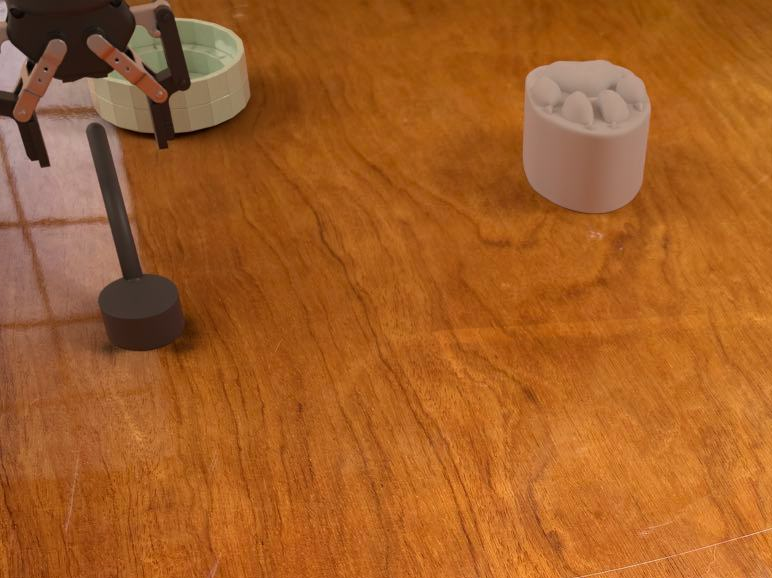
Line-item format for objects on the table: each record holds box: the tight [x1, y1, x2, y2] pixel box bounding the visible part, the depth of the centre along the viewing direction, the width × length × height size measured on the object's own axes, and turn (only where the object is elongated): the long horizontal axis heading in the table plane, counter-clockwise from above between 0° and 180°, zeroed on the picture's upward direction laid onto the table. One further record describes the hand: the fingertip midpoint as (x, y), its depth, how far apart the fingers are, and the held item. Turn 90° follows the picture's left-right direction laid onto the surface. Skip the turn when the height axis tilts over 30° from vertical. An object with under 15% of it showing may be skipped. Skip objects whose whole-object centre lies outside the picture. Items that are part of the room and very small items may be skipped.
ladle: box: [85, 122, 186, 351], centre depth 86 cm, size 16×6×10 cm, turn 22°
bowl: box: [86, 17, 252, 134], centre depth 108 cm, size 14×14×5 cm
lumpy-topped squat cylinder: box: [522, 59, 652, 215], centre depth 101 cm, size 10×13×9 cm
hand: (104, 153), depth 87 cm, fingers open, 8 cm apart
